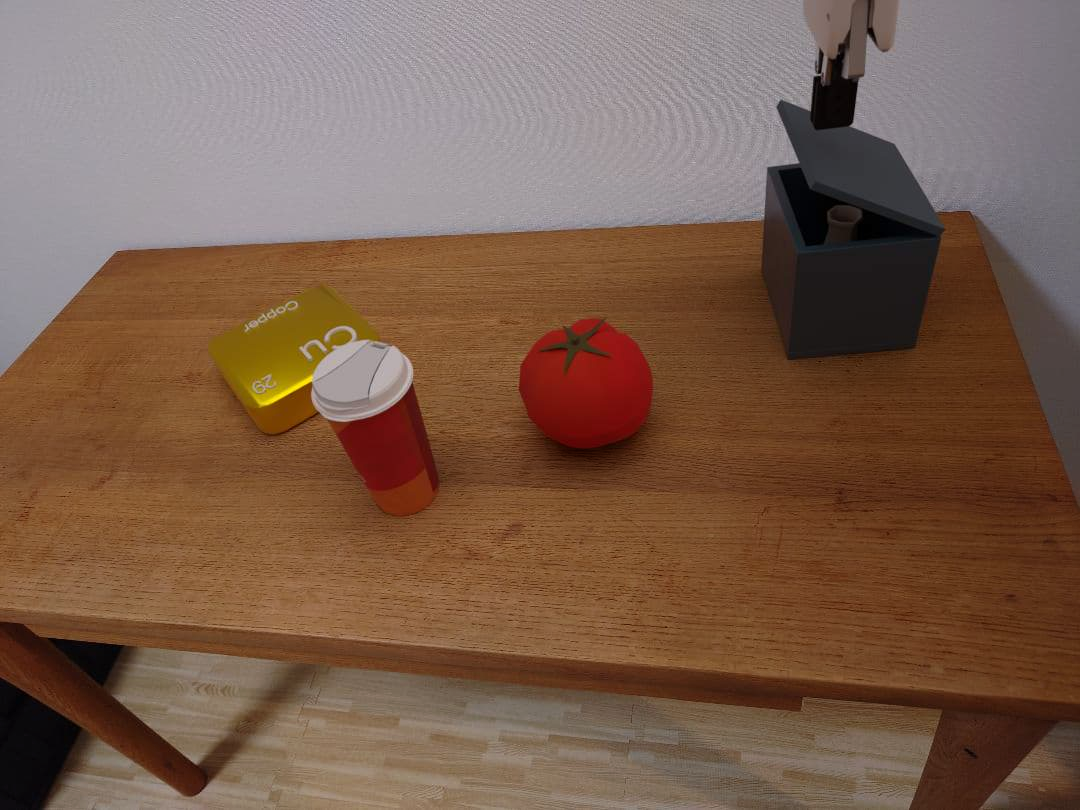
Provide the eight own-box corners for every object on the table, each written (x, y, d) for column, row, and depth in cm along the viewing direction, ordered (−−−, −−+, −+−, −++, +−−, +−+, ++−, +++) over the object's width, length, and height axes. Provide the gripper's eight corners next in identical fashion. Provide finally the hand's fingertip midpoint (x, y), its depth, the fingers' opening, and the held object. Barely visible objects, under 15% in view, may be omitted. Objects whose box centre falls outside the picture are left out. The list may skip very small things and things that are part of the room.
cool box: (787, 359, 77) (797, 253, 69) (761, 269, 88) (766, 166, 79) (915, 348, 76) (941, 237, 67) (873, 257, 86) (891, 151, 78)
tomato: (667, 391, 77) (662, 299, 69) (641, 482, 69) (632, 391, 62) (549, 377, 81) (532, 289, 73) (512, 463, 73) (489, 375, 65)
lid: (809, 189, 64) (815, 181, 64) (775, 107, 75) (780, 99, 74) (939, 236, 67) (946, 229, 67) (889, 150, 78) (894, 143, 77)
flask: (809, 271, 85) (818, 188, 78) (880, 286, 82) (896, 199, 75) (786, 312, 81) (793, 228, 74) (859, 329, 78) (874, 242, 71)
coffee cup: (394, 446, 77) (345, 327, 66) (468, 468, 74) (428, 345, 63) (344, 513, 72) (282, 395, 61) (420, 539, 69) (368, 419, 58)
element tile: (336, 308, 94) (322, 275, 91) (397, 369, 85) (384, 335, 82) (218, 370, 89) (199, 338, 86) (268, 443, 80) (249, 409, 77)
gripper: (951, -110, 49) (903, 161, 62) (884, -161, 60) (854, 80, 73) (826, -90, 50) (803, 174, 63) (781, -143, 61) (770, 92, 74)
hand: (831, 123), depth 68 cm, fingers closed
